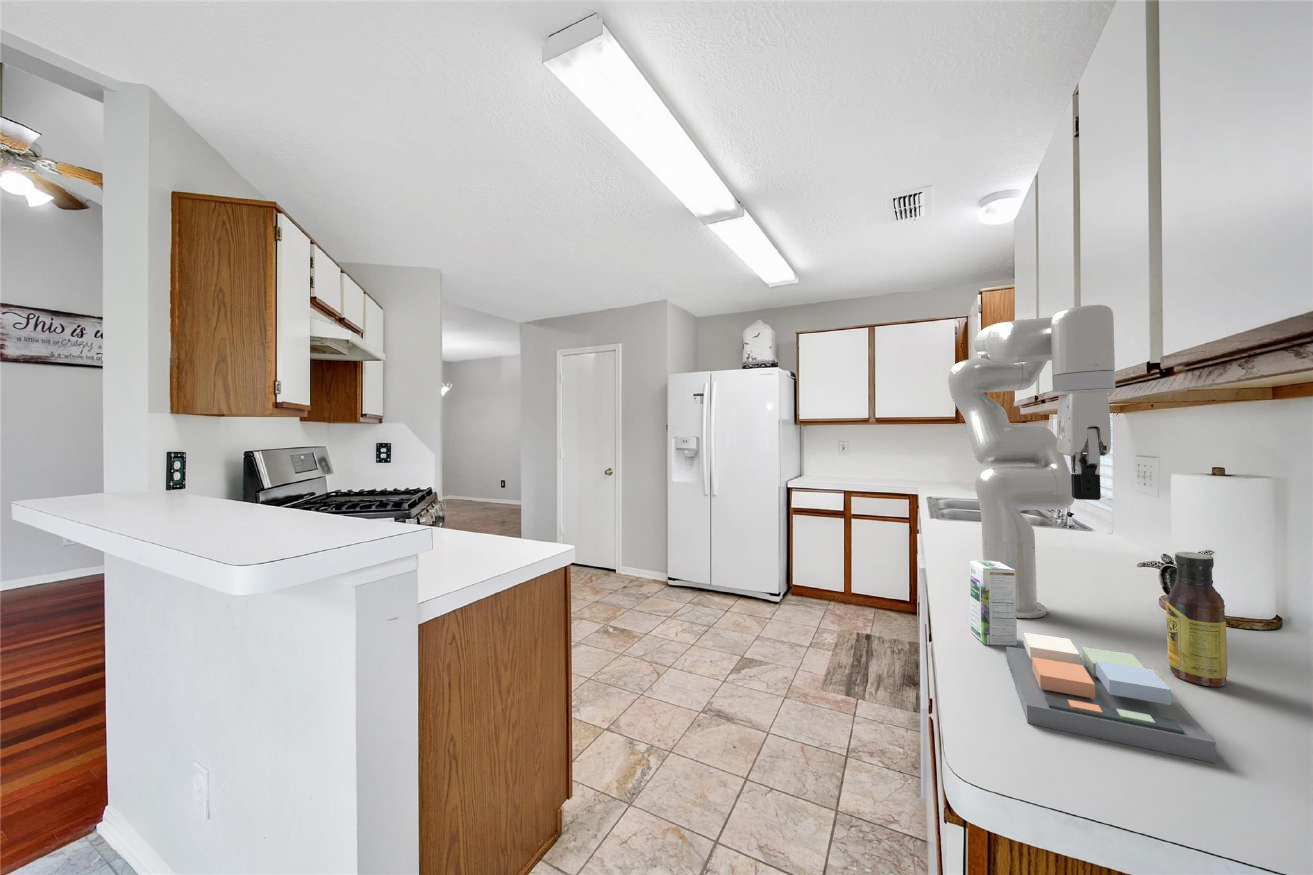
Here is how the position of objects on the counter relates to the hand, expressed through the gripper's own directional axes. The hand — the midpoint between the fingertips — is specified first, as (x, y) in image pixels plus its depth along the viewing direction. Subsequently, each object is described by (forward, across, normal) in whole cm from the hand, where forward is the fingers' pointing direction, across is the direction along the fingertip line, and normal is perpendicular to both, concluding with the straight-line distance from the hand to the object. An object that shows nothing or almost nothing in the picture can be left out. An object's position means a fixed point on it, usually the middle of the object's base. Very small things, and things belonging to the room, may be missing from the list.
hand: (1086, 498), depth 77 cm
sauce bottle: (+29, -6, +14) cm, 33 cm away
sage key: (+26, +4, +2) cm, 26 cm away
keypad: (+29, +9, -2) cm, 30 cm away
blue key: (+25, +11, +2) cm, 27 cm away
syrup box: (+29, -10, -12) cm, 33 cm away
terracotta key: (+26, +11, -6) cm, 29 cm away
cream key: (+25, +4, -6) cm, 26 cm away
